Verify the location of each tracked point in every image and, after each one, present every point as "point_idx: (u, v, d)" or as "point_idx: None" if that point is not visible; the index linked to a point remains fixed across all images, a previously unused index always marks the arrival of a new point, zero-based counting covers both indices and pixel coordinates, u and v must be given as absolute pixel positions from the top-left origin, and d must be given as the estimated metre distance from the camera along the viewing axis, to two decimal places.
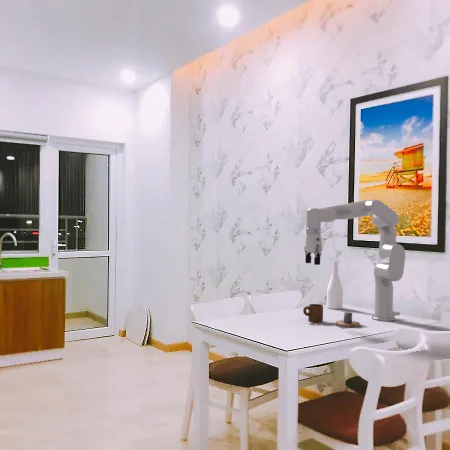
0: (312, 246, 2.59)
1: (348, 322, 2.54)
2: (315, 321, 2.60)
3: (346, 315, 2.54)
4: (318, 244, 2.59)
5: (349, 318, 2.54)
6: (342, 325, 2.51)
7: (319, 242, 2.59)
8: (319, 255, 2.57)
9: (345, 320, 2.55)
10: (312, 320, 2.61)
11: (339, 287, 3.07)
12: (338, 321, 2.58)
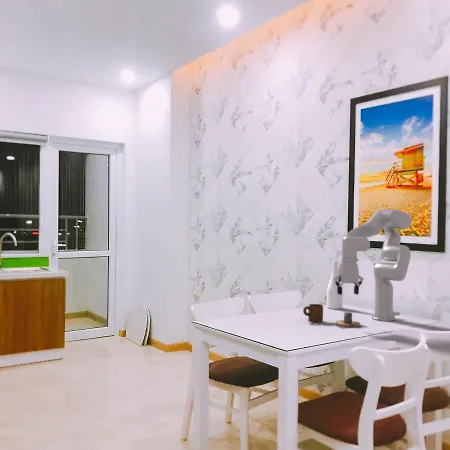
0: (356, 276, 2.54)
1: (348, 322, 2.54)
2: (315, 321, 2.60)
3: (346, 315, 2.54)
4: None
5: (349, 318, 2.54)
6: (342, 325, 2.51)
7: None
8: None
9: (345, 320, 2.55)
10: (312, 320, 2.61)
11: None
12: (338, 321, 2.58)
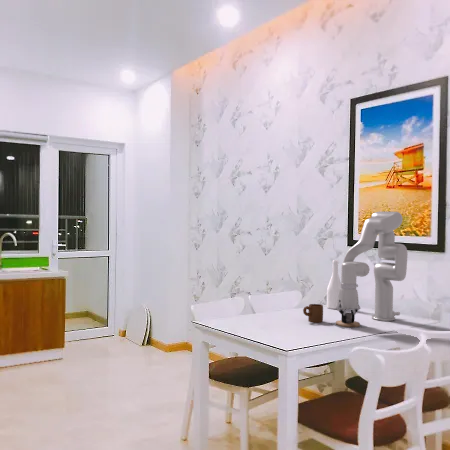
0: (356, 302, 2.55)
1: (348, 322, 2.54)
2: (315, 321, 2.60)
3: (346, 315, 2.54)
4: None
5: (349, 318, 2.54)
6: (342, 325, 2.51)
7: None
8: None
9: None
10: (312, 320, 2.61)
11: (339, 287, 3.07)
12: (338, 321, 2.58)
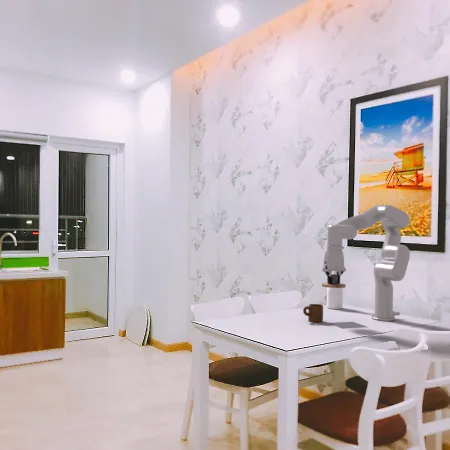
0: (342, 263, 2.57)
1: (334, 283, 2.56)
2: (315, 321, 2.60)
3: (332, 276, 2.57)
4: None
5: (335, 279, 2.56)
6: (328, 286, 2.54)
7: None
8: None
9: None
10: (312, 320, 2.61)
11: None
12: (324, 283, 2.61)
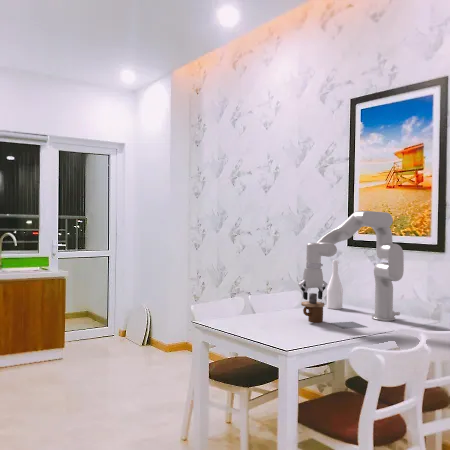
0: (321, 281, 2.62)
1: (313, 302, 2.61)
2: (315, 321, 2.60)
3: (311, 296, 2.61)
4: None
5: (314, 298, 2.61)
6: (307, 305, 2.58)
7: None
8: None
9: (310, 300, 2.62)
10: (312, 320, 2.61)
11: (339, 287, 3.07)
12: (304, 302, 2.65)
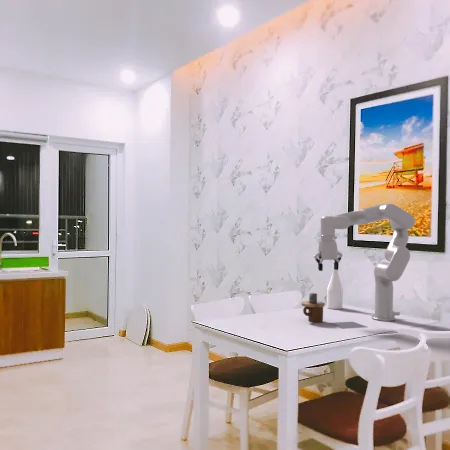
0: (335, 252, 2.70)
1: (313, 302, 2.61)
2: (315, 321, 2.60)
3: (311, 296, 2.61)
4: None
5: (314, 298, 2.61)
6: (307, 305, 2.58)
7: None
8: (338, 260, 2.73)
9: (310, 300, 2.62)
10: (312, 320, 2.61)
11: (339, 287, 3.07)
12: (304, 302, 2.65)
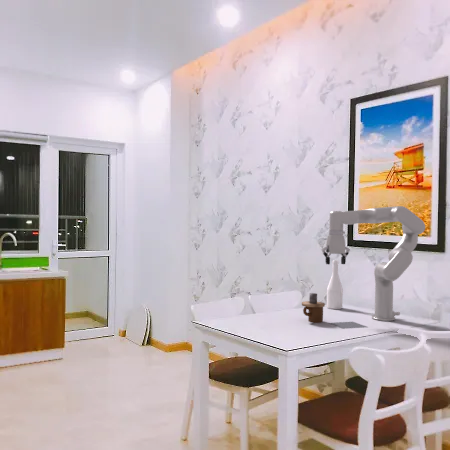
0: (343, 247, 2.75)
1: (313, 302, 2.61)
2: (315, 321, 2.60)
3: (311, 296, 2.61)
4: None
5: (314, 298, 2.61)
6: (307, 305, 2.58)
7: None
8: None
9: (310, 300, 2.62)
10: (312, 320, 2.61)
11: (339, 287, 3.07)
12: (304, 302, 2.65)
